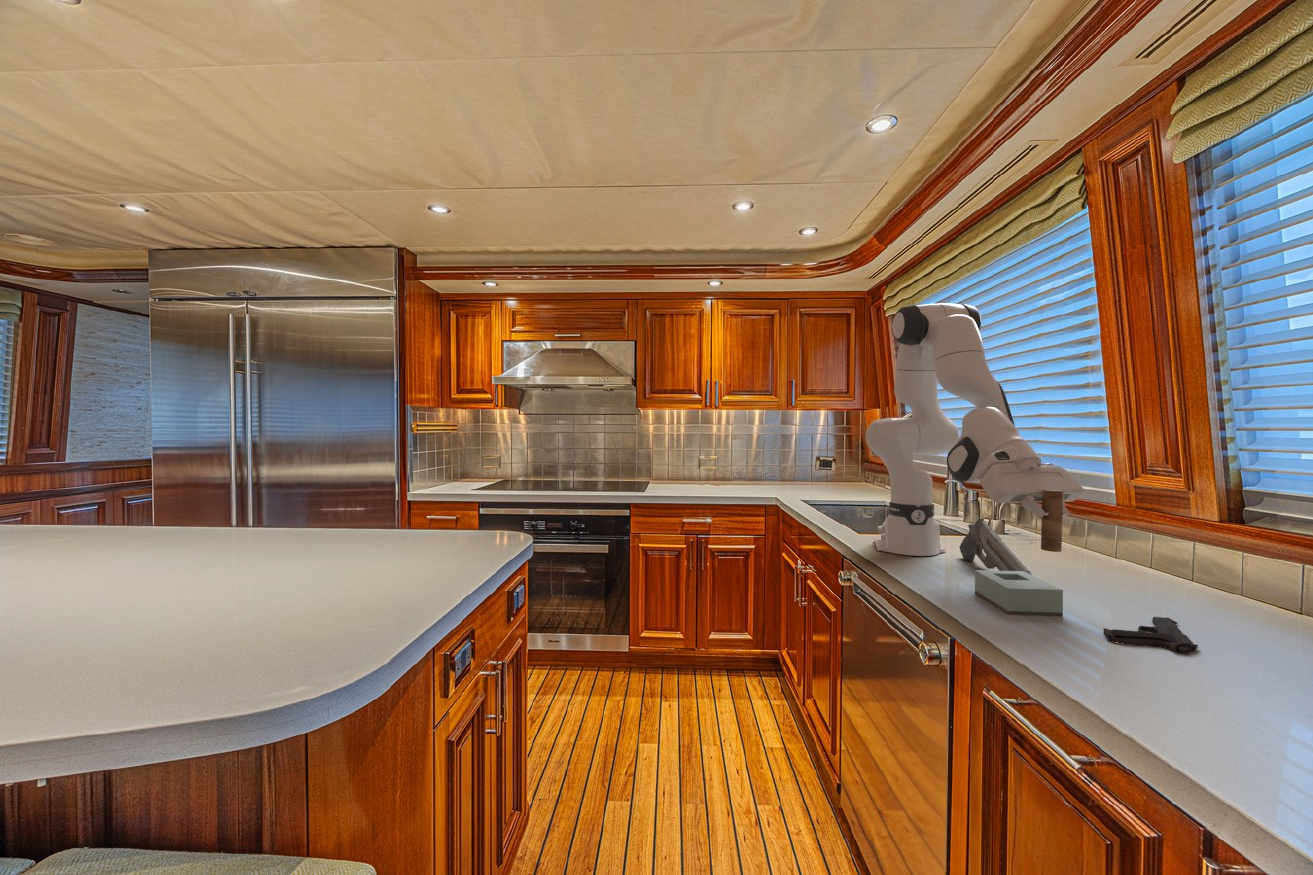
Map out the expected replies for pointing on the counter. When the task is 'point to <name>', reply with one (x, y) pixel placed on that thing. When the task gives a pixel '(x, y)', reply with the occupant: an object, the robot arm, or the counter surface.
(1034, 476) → the robot arm
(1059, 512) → the walnut dowel
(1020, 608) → the socket block
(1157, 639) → the handgun
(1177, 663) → the counter surface
